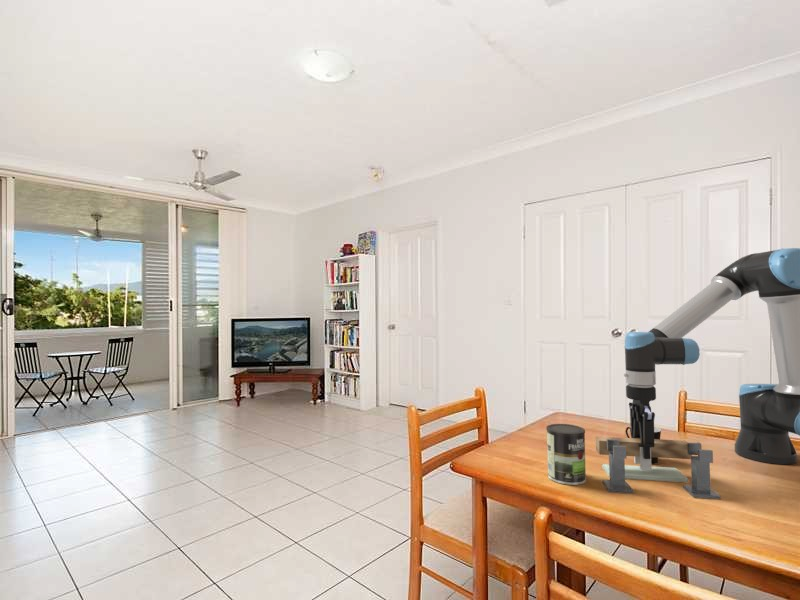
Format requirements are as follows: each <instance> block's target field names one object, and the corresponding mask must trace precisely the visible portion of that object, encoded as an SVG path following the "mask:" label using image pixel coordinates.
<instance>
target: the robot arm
mask: <svg viewBox="0 0 800 600" xmlns="http://www.w3.org/2000/svg"><path fill="white" fill-rule="evenodd" d="M753 292H758V298H759V299H760V300H762V301H764V302H765V303H766V305H767V313H768V318H769V326H770V332H771V338H772V345H773V351H774V352H773V353H774V357H775V365H776V371H777V377H778V378H777V379H778V383H743V384H742V385H740V387H739V392H738V393H739V394H738V397H739V398H738V399H739V400H738V401H739V417H740V430H739V432H738V435H737V436H736V440H735V443H734V453H735V454H736V455H738V456H740V457H743V458H746V459H749V460H752V461H757V462H761V463H767V464H768V463H769V464H776V465H793V464H797V463H798V454H797V451H796V449H795V446H794V444H793V442H792V439H791V437H790V435H789V433H792V434H795V435H798V436H800V247H799V248H798V247H792V248H789V247H788V248H780V249H773V250H768V251H763V252H758V253H757V252H755V253H751V254H748V255H745V256H742V257H740V258H738V259H737V260H735V261H734V262H731V264H729V265H728V266H726V267H725V268H723V269H722V270H720V272H718V273H717V274H716V275H714V276H713V277H712V278H711V280H710V284H709V285H707V286H706V287H705V288H703V289H702V290H701V291H699V292H698V293H697V294H695V295H694V296H693V297H691V298H690V299H689V300H688V301H686V302H685V303H684V304H683V305H682V306H680V307H679V308H677V309H676V310H675V311H673V312H672V313H671V314H670V315H668V316H667V317H665V318H664V319H663V320H662V321H660V322H659V323H658V324H656V325H655V326H654V327H652V329H650V330H649V331H629V332H626V334H625V335H624V336H625V339H624V347H623V348H624V354H625V357H624V358H625V360H624V361H625V362H624V363H625V373H624V374H623V376H624V377H625V382H626V384H627V385H626V386H625V396H626V398H627V399H630V400H632V402H629V403H628V407H629V408H628V409H629V422H630V426H631V433H630V437H631V436H633V438H640V440H641V445H639V444H638V446H639V447H640V457H637V456H633V460H634V461H633V463H634V464H636V465H639V466H640V469H641V470H652V468H651V467H652V464H651V447H654V427H655V417H656V414H655V412H653V411H652V406H650V402H652V401H656V399H657V390H656V389H657V388H656V387H655V385H656V384H657V382H656V381H657V377H656V365H657V366H658V365H683V366H684V365H693V364H695V363H697V362H698V361H699V359H700V347H699V344H698V343H697V342H696V341H695V340H694V339H692V338H684V337H685V336H686V335H687V334H689V333H691V332H692V331H693V330H694V329H696V328H697V327H699V325H700V324H702V323H704V321H706V320H707V319H709V318H710V317H711V316H712V315H714V314H715V313H716V312H717V311H718V312H719V310H720V309H722V307H725V306H726V305H727V304H728V303H729V302H731V301H737V300H740V299H741V298H742V297H744V296H745V295H747V294H750V293H753ZM630 426H629V427H630Z"/></svg>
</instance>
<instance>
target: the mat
mask: <svg viewBox="0 0 800 600" xmlns="http://www.w3.org/2000/svg"><path fill="white" fill-rule="evenodd" d="M601 468H602V469H603V471H605V473H606V474H607V476H608V477H609V478H610V474H609V463H607V464H606V463H603V464H602V466H601ZM651 468H652V470H641V469H640V465H629V464H628V465H626V464H625V480H626V479H628V480H641V481H642V480H645V481H659V482H677V483H678V482H679V483H689V478H688V477H687V476H686V475H685V474H683V473H682V472H681V471H680V470H679V469H678V468H676V467H667V466H666V467H664V466H651Z"/></svg>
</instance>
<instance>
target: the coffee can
mask: <svg viewBox="0 0 800 600" xmlns="http://www.w3.org/2000/svg"><path fill="white" fill-rule="evenodd" d="M545 430H546V442H547V443H546V445H547V446H546V447H547V452H546V453H547V477H548V479H549V480H551V481H553V482H554V483H557V484H561V485H565V486H578V485H583V484H585V483H586V482H587V478H586V477H587V476H586V472H587V471H586V438H585V435H586V430H585V428H583V427H581V426H578V425H574V424H567V423H553V424H548V425H547V426H546V429H545Z"/></svg>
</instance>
